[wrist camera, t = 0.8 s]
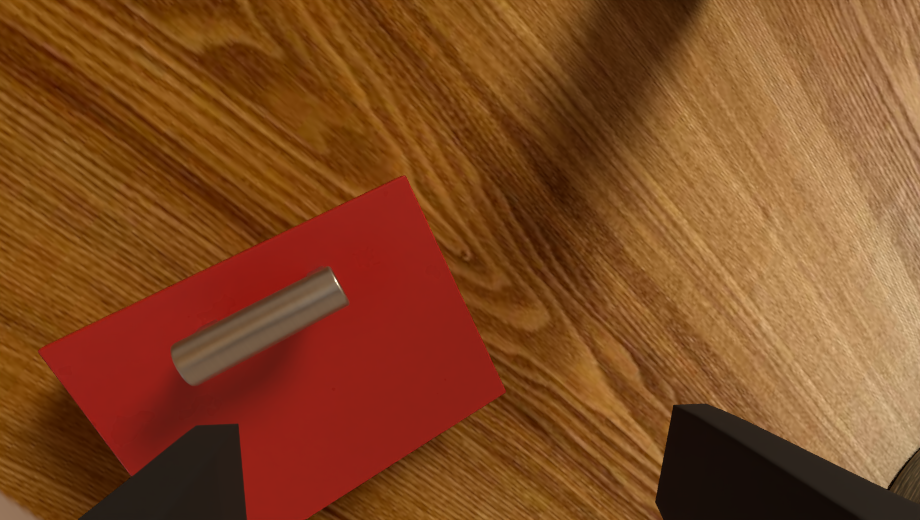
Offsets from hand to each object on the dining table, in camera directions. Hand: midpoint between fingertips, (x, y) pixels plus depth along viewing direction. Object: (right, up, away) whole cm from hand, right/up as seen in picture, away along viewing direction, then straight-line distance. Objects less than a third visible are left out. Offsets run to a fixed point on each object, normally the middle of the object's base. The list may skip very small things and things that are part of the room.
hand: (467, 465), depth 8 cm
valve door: (-6, -1, +11) cm, 12 cm away
